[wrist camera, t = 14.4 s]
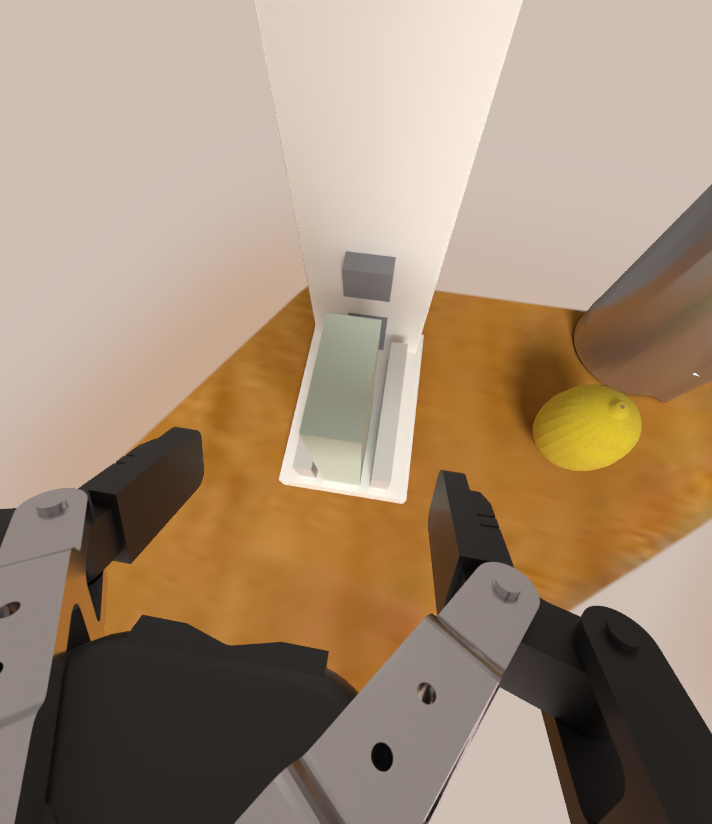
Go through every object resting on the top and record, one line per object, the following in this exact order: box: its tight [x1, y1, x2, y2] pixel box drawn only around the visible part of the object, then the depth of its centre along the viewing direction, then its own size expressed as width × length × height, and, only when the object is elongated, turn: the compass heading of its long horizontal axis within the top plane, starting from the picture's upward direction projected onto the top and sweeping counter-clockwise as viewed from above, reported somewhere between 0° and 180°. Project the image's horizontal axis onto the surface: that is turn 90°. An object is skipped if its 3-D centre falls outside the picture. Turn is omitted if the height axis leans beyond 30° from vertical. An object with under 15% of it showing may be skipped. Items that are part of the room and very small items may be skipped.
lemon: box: [533, 384, 642, 471], centre depth 24 cm, size 6×6×8 cm
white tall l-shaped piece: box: [254, 0, 523, 504], centre depth 17 cm, size 14×9×24 cm, turn 171°
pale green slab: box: [299, 313, 382, 486], centre depth 20 cm, size 7×3×11 cm, turn 171°
